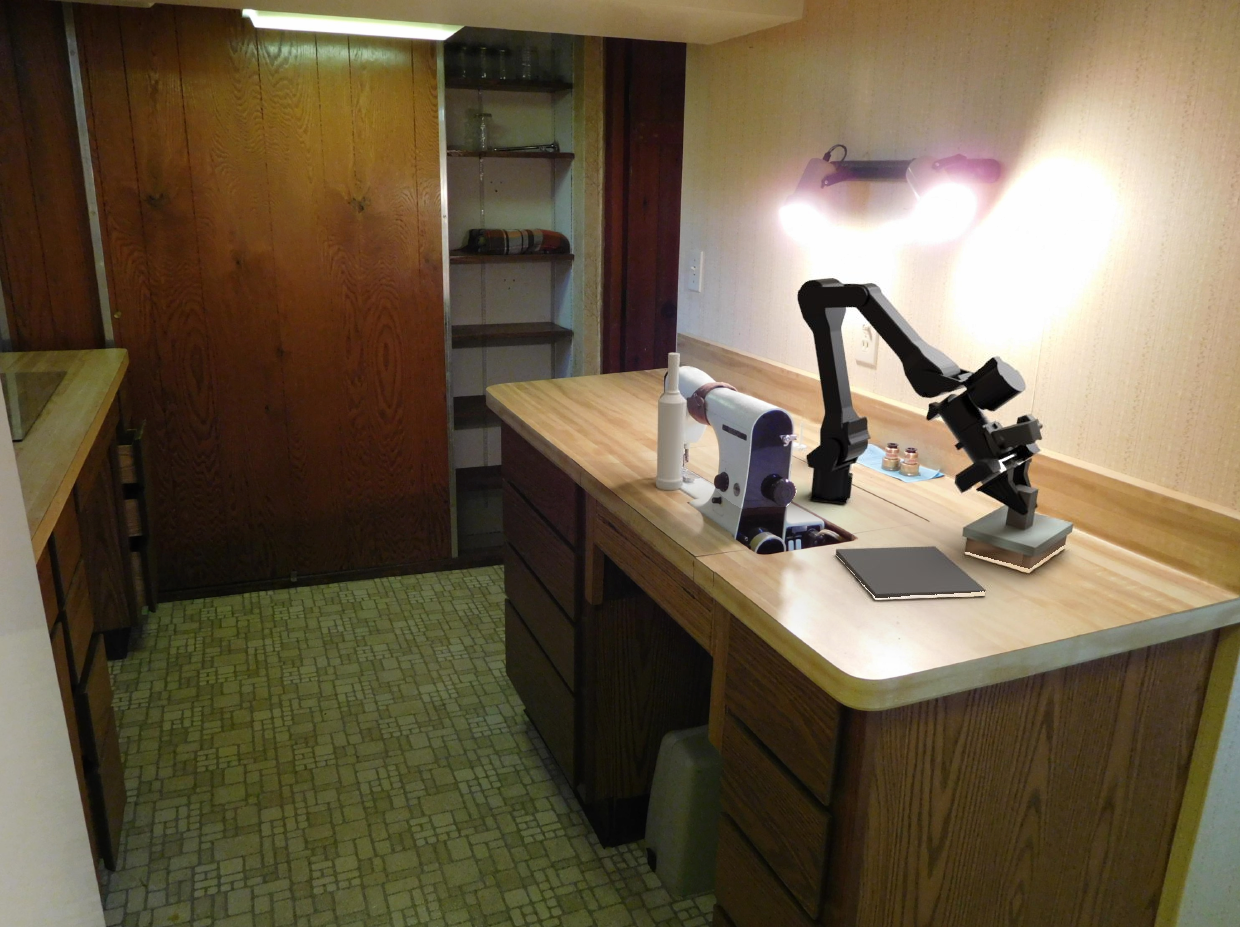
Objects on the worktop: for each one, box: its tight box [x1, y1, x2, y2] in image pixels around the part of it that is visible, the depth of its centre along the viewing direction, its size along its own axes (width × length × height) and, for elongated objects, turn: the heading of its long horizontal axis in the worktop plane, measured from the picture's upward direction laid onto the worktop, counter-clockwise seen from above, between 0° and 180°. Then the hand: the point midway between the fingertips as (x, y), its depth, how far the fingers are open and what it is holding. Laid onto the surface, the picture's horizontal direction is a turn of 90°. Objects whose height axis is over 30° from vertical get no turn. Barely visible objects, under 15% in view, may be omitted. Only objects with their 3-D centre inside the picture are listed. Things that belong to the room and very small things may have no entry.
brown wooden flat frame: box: [964, 535, 1068, 569], centre depth 145 cm, size 10×14×3 cm
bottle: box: [654, 352, 688, 491], centre depth 169 cm, size 5×5×25 cm
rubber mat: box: [835, 545, 987, 598], centre depth 136 cm, size 16×16×1 cm
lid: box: [961, 484, 1074, 557], centre depth 143 cm, size 11×15×8 cm
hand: (1030, 511), depth 142 cm, fingers closed on lid, 3 cm apart
